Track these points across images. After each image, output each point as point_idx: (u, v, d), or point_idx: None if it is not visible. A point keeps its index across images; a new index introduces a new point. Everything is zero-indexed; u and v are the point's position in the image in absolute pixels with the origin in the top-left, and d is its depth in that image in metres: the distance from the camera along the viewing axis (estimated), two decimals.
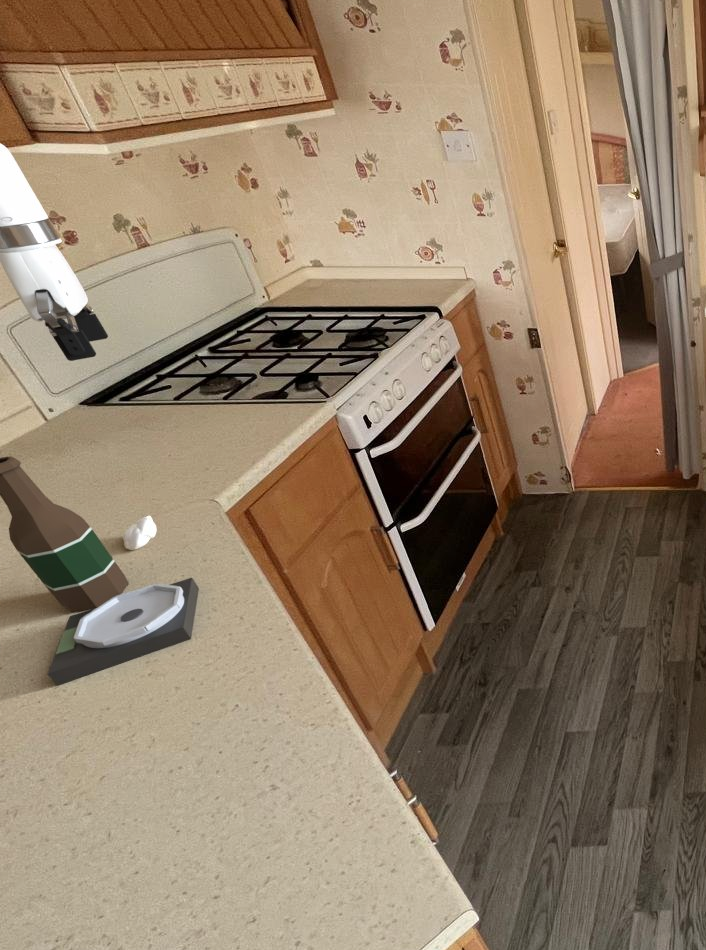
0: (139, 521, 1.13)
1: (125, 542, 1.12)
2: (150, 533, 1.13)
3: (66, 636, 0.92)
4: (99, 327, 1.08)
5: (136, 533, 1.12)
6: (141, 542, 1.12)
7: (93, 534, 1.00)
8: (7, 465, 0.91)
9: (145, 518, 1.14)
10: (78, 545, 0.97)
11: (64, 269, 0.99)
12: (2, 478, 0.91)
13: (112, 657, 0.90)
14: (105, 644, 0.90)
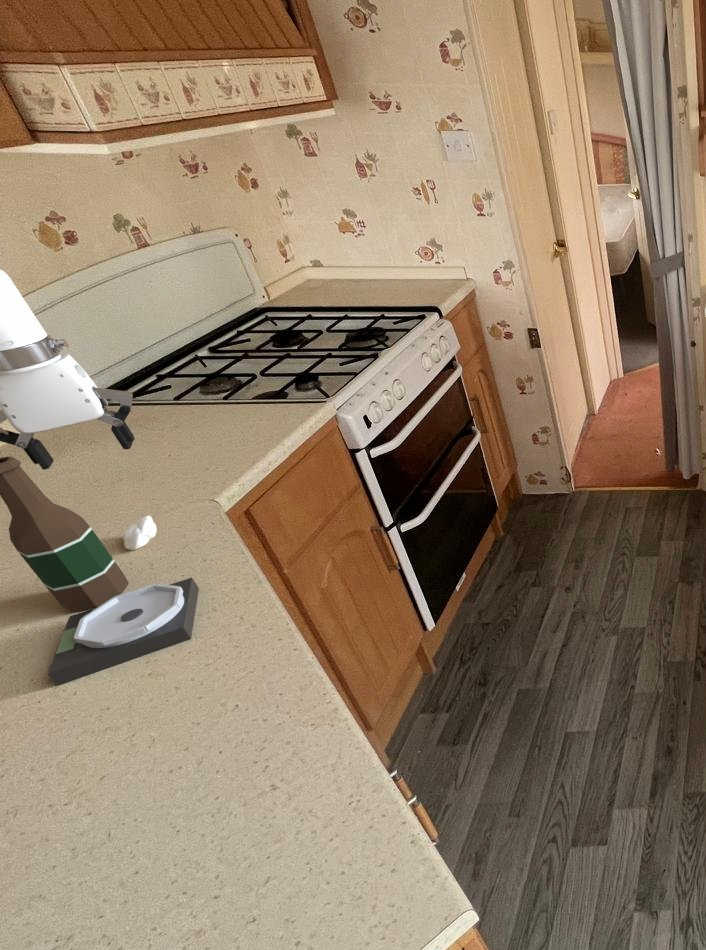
0: (139, 521, 1.13)
1: (125, 542, 1.12)
2: (150, 533, 1.13)
3: (66, 636, 0.92)
4: (118, 439, 1.07)
5: (136, 533, 1.12)
6: (141, 542, 1.12)
7: (93, 534, 1.00)
8: (7, 465, 0.91)
9: (145, 518, 1.14)
10: (78, 545, 0.97)
11: (32, 393, 0.98)
12: (2, 478, 0.91)
13: (112, 657, 0.90)
14: (105, 644, 0.90)
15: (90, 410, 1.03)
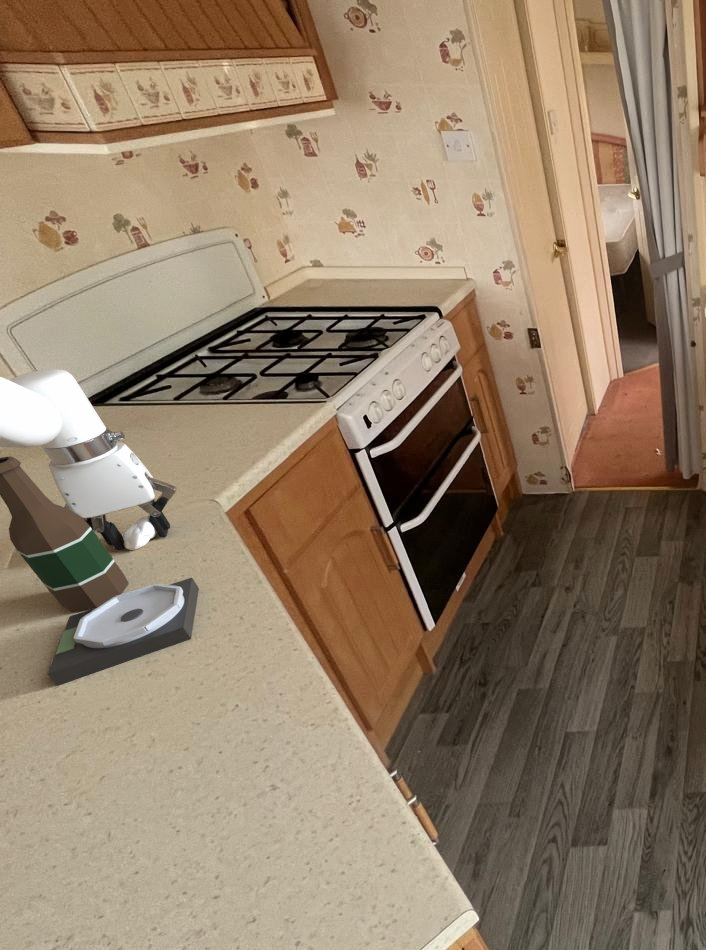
0: (139, 521, 1.13)
1: (125, 542, 1.12)
2: (150, 533, 1.13)
3: (66, 636, 0.92)
4: (155, 528, 1.14)
5: (136, 533, 1.12)
6: (141, 542, 1.12)
7: (93, 534, 1.00)
8: (7, 465, 0.91)
9: (145, 518, 1.14)
10: (78, 545, 0.97)
11: (92, 482, 1.06)
12: (2, 478, 0.91)
13: (112, 657, 0.90)
14: (105, 644, 0.90)
15: (143, 495, 1.11)
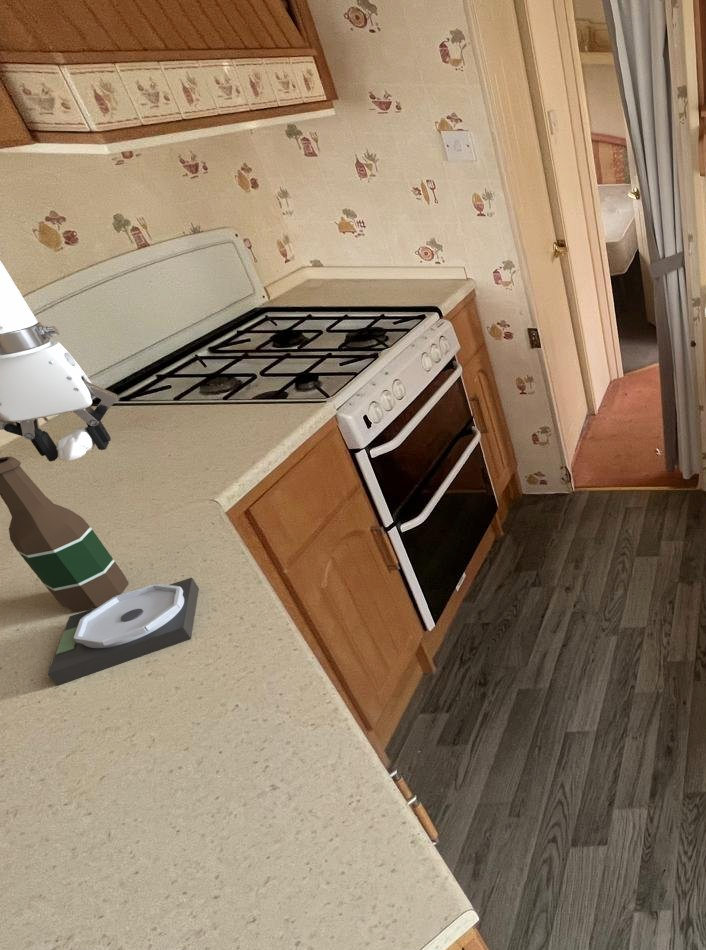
0: (75, 431, 1.04)
1: (59, 452, 1.03)
2: (86, 444, 1.04)
3: (66, 636, 0.92)
4: (93, 439, 1.05)
5: (70, 442, 1.02)
6: (75, 452, 1.03)
7: (93, 534, 1.00)
8: (7, 465, 0.91)
9: (82, 428, 1.04)
10: (78, 545, 0.97)
11: (20, 380, 0.97)
12: (2, 478, 0.91)
13: (112, 657, 0.90)
14: (105, 644, 0.90)
15: (78, 399, 1.01)
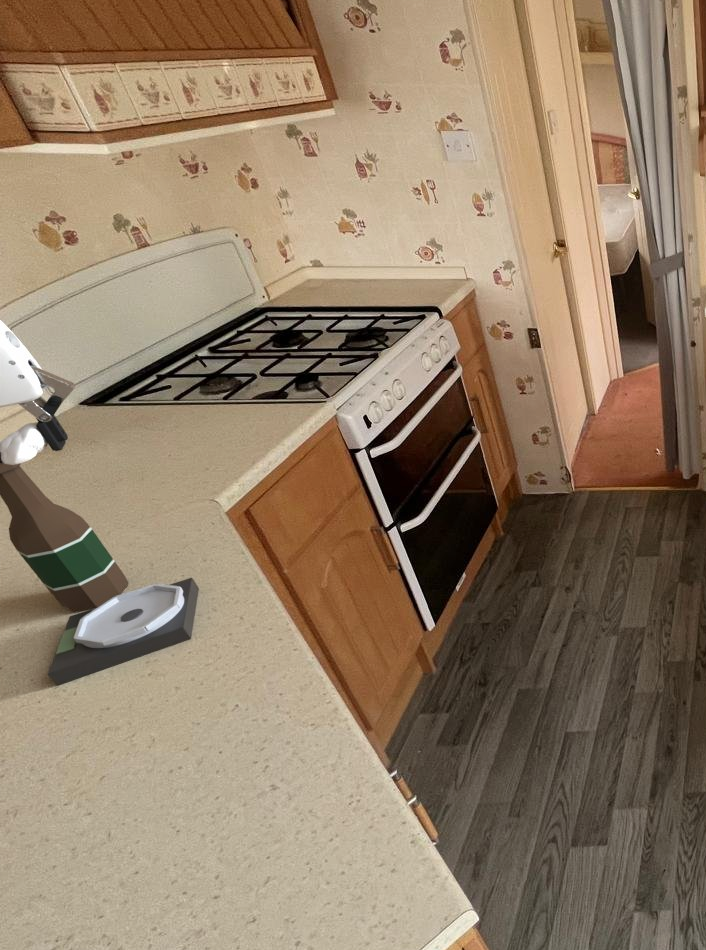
0: (23, 427, 0.85)
1: (2, 454, 0.83)
2: (36, 443, 0.84)
3: (66, 636, 0.92)
4: (45, 438, 0.85)
5: (16, 442, 0.83)
6: (23, 454, 0.83)
7: (93, 534, 1.00)
8: (7, 465, 0.91)
9: (31, 424, 0.85)
10: (78, 545, 0.97)
11: None
12: (2, 478, 0.91)
13: (112, 657, 0.90)
14: (105, 644, 0.90)
15: (25, 389, 0.82)
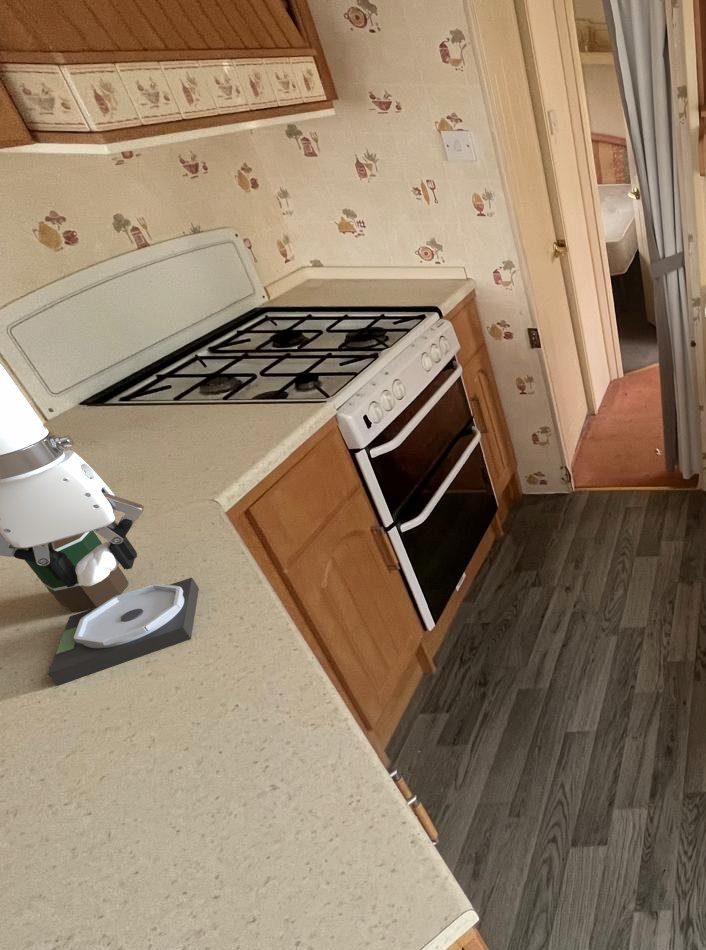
0: (96, 549, 0.89)
1: (78, 576, 0.88)
2: (109, 565, 0.89)
3: (66, 636, 0.92)
4: (117, 559, 0.90)
5: (91, 565, 0.88)
6: (98, 576, 0.88)
7: (93, 534, 1.00)
8: None
9: (104, 545, 0.90)
10: (78, 545, 0.97)
11: (31, 502, 0.82)
12: None
13: (112, 657, 0.90)
14: (105, 644, 0.90)
15: (99, 517, 0.87)
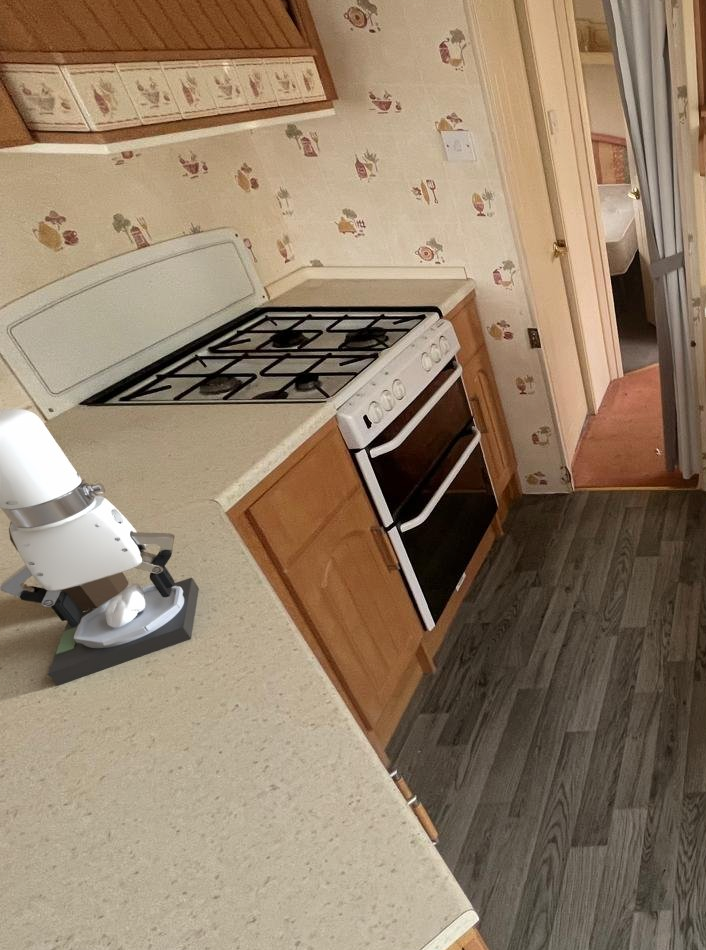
0: (125, 592, 0.93)
1: (107, 618, 0.92)
2: (137, 607, 0.93)
3: (66, 636, 0.92)
4: (156, 587, 0.94)
5: (120, 608, 0.91)
6: (126, 618, 0.92)
7: None
8: None
9: (132, 588, 0.93)
10: None
11: (63, 548, 0.85)
12: None
13: (112, 657, 0.90)
14: (105, 644, 0.90)
15: (127, 560, 0.90)
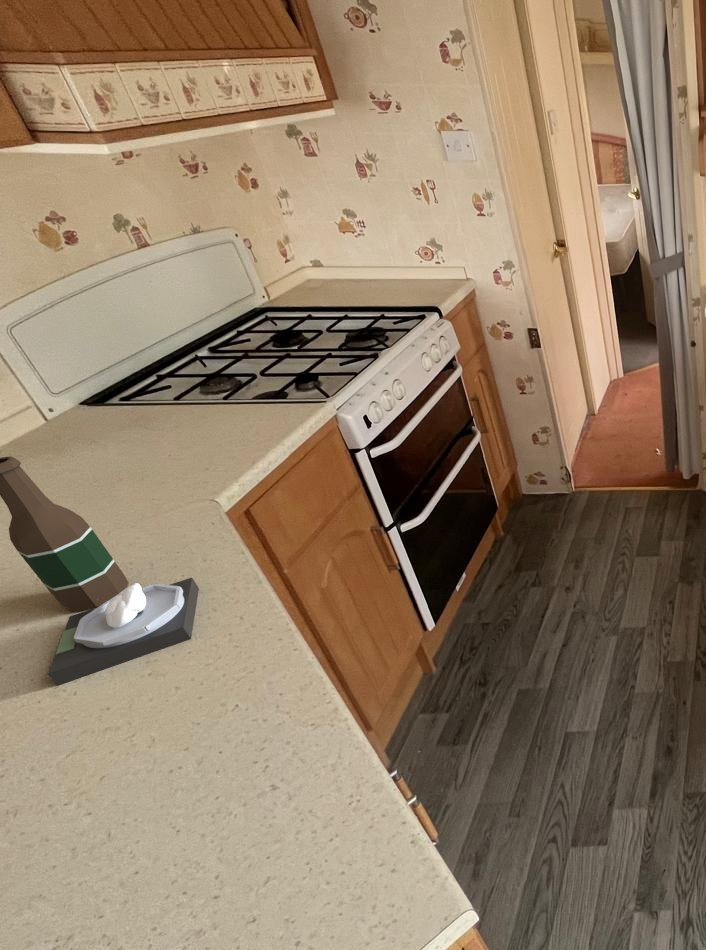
0: (125, 592, 0.93)
1: (107, 618, 0.92)
2: (137, 607, 0.93)
3: (66, 636, 0.92)
4: None
5: (120, 608, 0.91)
6: (126, 618, 0.92)
7: (93, 534, 1.00)
8: (7, 465, 0.91)
9: (132, 588, 0.93)
10: (78, 545, 0.97)
11: None
12: (2, 478, 0.91)
13: (112, 657, 0.90)
14: (105, 644, 0.90)
15: None
